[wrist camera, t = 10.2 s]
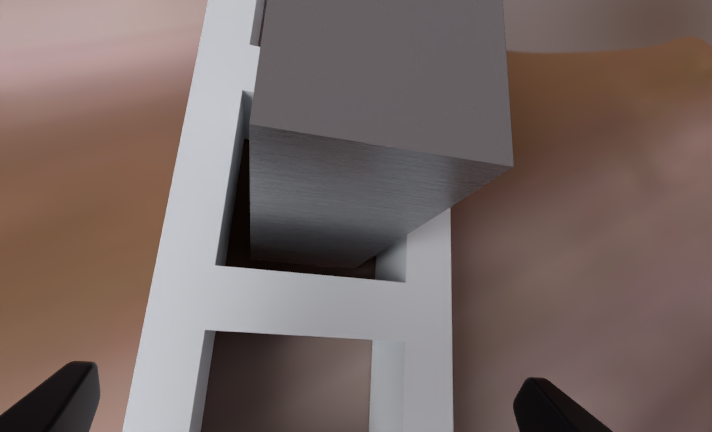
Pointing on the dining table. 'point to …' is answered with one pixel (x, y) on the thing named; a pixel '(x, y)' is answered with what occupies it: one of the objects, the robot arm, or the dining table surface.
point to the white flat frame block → (277, 288)
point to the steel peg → (372, 122)
